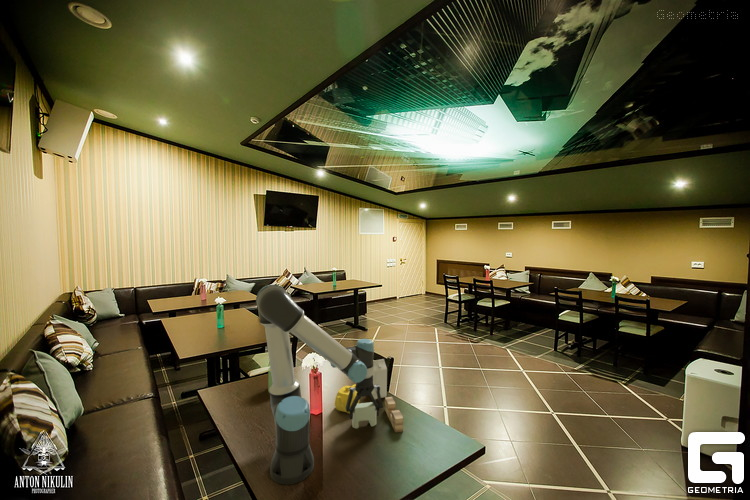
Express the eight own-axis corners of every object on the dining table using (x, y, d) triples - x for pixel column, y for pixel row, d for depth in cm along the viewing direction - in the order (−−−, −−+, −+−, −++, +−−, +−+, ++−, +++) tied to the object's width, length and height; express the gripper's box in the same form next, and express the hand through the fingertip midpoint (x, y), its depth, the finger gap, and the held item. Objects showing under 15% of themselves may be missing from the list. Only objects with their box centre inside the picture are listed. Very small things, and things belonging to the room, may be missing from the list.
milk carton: (368, 393, 162) (369, 358, 161) (380, 390, 165) (381, 356, 164) (374, 399, 156) (375, 363, 155) (386, 397, 159) (387, 361, 158)
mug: (292, 388, 166) (292, 366, 166) (276, 396, 157) (277, 373, 157) (276, 382, 173) (277, 361, 173) (261, 389, 164) (261, 367, 164)
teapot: (347, 422, 136) (347, 398, 136) (326, 416, 141) (327, 393, 140) (364, 402, 153) (365, 382, 152) (345, 397, 157) (346, 377, 157)
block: (374, 426, 134) (374, 406, 133) (354, 428, 132) (354, 408, 131) (372, 421, 137) (373, 401, 137) (353, 423, 135) (353, 404, 135)
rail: (403, 431, 130) (403, 418, 130) (395, 432, 129) (395, 418, 129) (391, 408, 148) (391, 396, 147) (384, 409, 147) (385, 397, 147)
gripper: (386, 369, 140) (385, 416, 140) (339, 373, 135) (338, 422, 136) (390, 376, 132) (389, 426, 133) (341, 380, 128) (340, 432, 128)
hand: (364, 424), depth 134 cm, fingers open, 9 cm apart
